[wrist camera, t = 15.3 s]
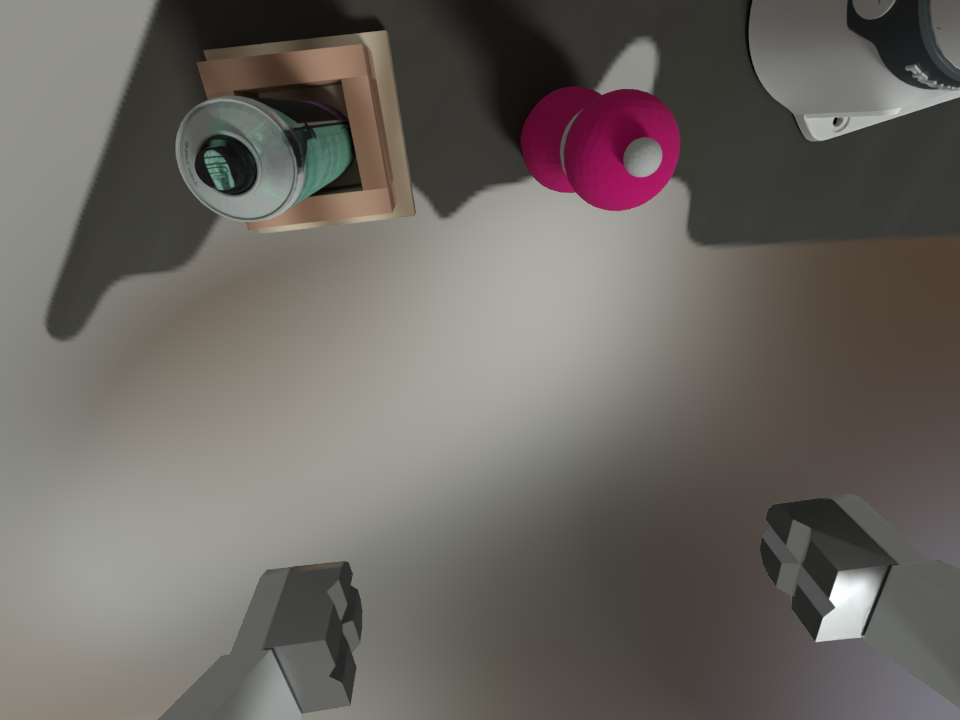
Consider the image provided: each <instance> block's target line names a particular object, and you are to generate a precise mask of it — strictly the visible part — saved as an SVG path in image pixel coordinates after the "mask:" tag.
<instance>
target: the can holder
mask: <svg viewBox="0 0 960 720" xmlns="http://www.w3.org/2000/svg"><path fill="white" fill-rule="evenodd" d="M203 51H204V54H205V57H206V60H207V61H203V62H196V63H197V67H198V70H199V73H200V76H201V79H202V83H203V86H204V89H205V92H206V95H207V99H208V100H211V99H213V98H217V97H221V96H245V97H258V98H272V99H286V100H300V101H314V102H322V103H326V104H328V105H331V106H333V107H335V108H336V109H338V110H339V111H341V112H342V113H343V114H344V115H345V116H346V117H347V119H348V120H349V122H350V127H351V132H352V137H353V142H354V147H355V152H356V156H355V159H354V161H353V163H352V165H351V167H350V168H349V169H348V170H347V171H346V172H345V173H344V174H342V175H341V176H340V177H338V178H336V179H335V180H333V181H332V182H330V183H329V184H327V185H325V186H324V187H322V188H321V189H319V190H318V191H316V192H315V193H313V194H311V195H310V196H308V197H307V198H305V199H304V200H302V201H301V202H299V203H297V204H296V205H294V206H293V207H291V208H290V209H288V210H286V211H285V212H283V213H282V214H280V215H278V216H276V217H273V218H271V219H267V220H262V221H256V222H246V224H247V227H248V230H250V229H258V232H259V234H263V233H271V232H280V231H288V230H297V229H304V228H305V229H306V228H313V227H323V226H331V225H340V224H348V223H357V222H365V221H373V220H383V219H391V218H400V217H408V216H415V214H416V210H415V204H414V198H413V191H412V185H411V178H410V172H409V165H408V159H407V153H406V146H405V140H404V133H403V127H402V121H401V114H400V108H399V101H398V95H397V89H396V82H395V76H394V69H393V63H392V56H391V50H390V44H389V37H388V33H387V31H386V30H384V31H375V32H366V33H356V34H347V35H338V36H329V37H320V38H311V39H302V40H293V41H284V42H275V43H266V44H257V45H247V46H238V47H229V48H220V49H211V50H203Z"/></svg>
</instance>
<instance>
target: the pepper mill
mask: <svg viewBox="0 0 960 720" xmlns="http://www.w3.org/2000/svg"><path fill="white" fill-rule="evenodd" d="M521 149H522V153H523V157H524V161H525V164H526V166H527V168H528V170H529V172H530V173H531V174H532V176H533V177H534V178H535V179H536V180H537V181H538V182H539V183H540V184H542V185H543V186H545V187H547V188H549V189H551V190H554V191H558V192H568V193H569V192H570V193H574V192H576V193H577V194H578V195H579V196H580V197H581V198H582V199H583V200H585V201H586V202H587V203H589V204H591V205H593V206H594V207H597V208H601V209H604V210H609V211H621V210H627V209H631V208H634V207H637V206H640V205H642V204H644V203H646V202H647V201H649V200H650V199H652V198H653V197H654V196H655V195H657V194H658V193H659V192H660V191H661V190H662V189H663V188H664V186H665V185H666V184H667V183H668V181H669V179H670V178H671V176H672V174H673V172H674V170H675V167H676V164H677V161H678V157H679V152H680V134H679V129H678V125H677V123H676V120H675V118H674V116H673V114H672V113H671V111H670V110H669V108H668V107H667V106H666V105H665V104H664V103H663V102H662V101H661V100H660V99H659V98H657V97H655V96H653V95H651V94H649V93H647V92H643V91H640V90H634V89H621V90H615V91H612V92H609V93H606V94H604V95H601V94H599V93H598V92H596V91H593V90H591V89H587V88H583V87H573V86H572V87H565V88H561V89H558V90H556V91H553V92H551V93H550V94H548V95H547V96H545V97H544V98H543V99H542V100H540V101H539V102H538V103H537V105H536V106H535V107H534V108H533V110H532V111H531V112H530V114H529V115H528V117H527V118H526V120H525V122H524V125H523V128H522V133H521Z"/></svg>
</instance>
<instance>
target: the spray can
mask: <svg viewBox="0 0 960 720" xmlns="http://www.w3.org/2000/svg"><path fill="white" fill-rule="evenodd" d="M175 147H176V159H177V163H178V167H179V170H180V172H181V175H182V177H183V179H184V181H185V183H186V184H187V186H188V187H189V189H190V190H191V192H192V193H193V194H194V195H195V196H196V197H197V199H198V200H199V201H200V202H202V203H203V204H204V205H205V206H206V207H208V208H209V209H210V210H212V211H214V212H215V213H217V214H219V215H221V216H223V217H226V218H229V219H231V220H236V221H241V222H256V221H262V220H267V219H271V218H273V217H276V216H278V215H280V214H282V213H283V212H285V211H286V210H288V209H290V208H291V207H293V206H294V205H296V204H297V203H299V202H301V201H302V200H304V199H305V198H307V197H308V196H310V195H311V194H313V193H315V192H316V191H318V190H319V189H321V188H322V187H324V186H325V185H327V184H329V183H330V182H332V181H333V180H335V179H336V178H338V177H340V176H341V175H342V174H344V173H345V172H346V171H347V170H348V169H349V168H350V167H351V165H352V163H353V161H354V159H355V156H356V152H355V147H354V142H353V137H352V132H351V127H350V122H349V120H348V119H347V117H346V116H345V115H344V114H343V113H342V112H341V111H339V110H338V109H336V108H335V107H333V106H331V105H328V104H326V103H322V102H314V101H300V100H286V99H272V98H258V97H245V96H221V97H217V98H213V99H211V100H207V101H205V102H203V103H201V104H198V105H197V106H195V107H194V108H193V109H192V110H191V111H189V112H188V113H187V115H186V116H185V118H184V119H183V120H182V122H181V124H180V127H179V129H178V132H177V137H176V143H175Z"/></svg>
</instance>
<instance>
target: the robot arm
mask: <svg viewBox="0 0 960 720" xmlns="http://www.w3.org/2000/svg"><path fill="white" fill-rule="evenodd" d="M749 46H750V53H751V58H752V62H753V66H754V69H755V71H756V74H757V76H758V78H759V80H760V82H761V83H762V85H763V86H764V88H765V89H766V90H767V92H768V93H769V94H770V95H771V96H772V97H773V98H774V99H776V100H777V101H778V102H780V103H781V104H782V105H784V106H785V107H786V108H788V109H789V110H790V111H791V112H792V113H793V114H794V116H795V119H796V121H797V124H798V126H799V128H800V130H801V132H802V134H803V135H804V137H805V138H806V139H807V140H809V141H823V140H827V139H830V138H833V137H836V136H840V135H843V134H846V133H849V132H852V131H855V130H858V129H861V128H864V127H868V126H871V125H874V124H877V123H880V122H883V121H886V120H889V119H892V118H896V117H899V116H902V115H905V114H908V113H911V112H914V111H917V110H921V109H924V108H927V107H930V106H933V105H936V104H939V103H942V102H945V101H949V100H952V99H955V98H958V97H960V0H753V1H752V6H751V12H750V20H749ZM834 118H837V122H836V124H835V125H833V120H834ZM765 520H766V521H767V522H768V524H769V525H770V526H771V528H770V529H769V530H768V531H767V532H766V533H765V534H764V535H763V536H762V537H761V544H760V554H761V558H762V563H763V566H764V568H765V570H766V572H767V574H768V576H769V577H770V579H771V580H772V582H773V583H774V585H775V586H776V587H777V588H779V589H781V590H782V591H784V592H785V593H787V594H788V595H790V596H792V601H791V609H792V610H793V612H794V613H795V614H796V616H797V617H798V619H799V620H800V621H801V623H802V624H803V626H804V627H805V628H806V630H807V631H808V632H809V634H810V635H811V637H812V638H813V639H814V641H815V642H820V641H829V640H839V639H848V638H858V637H864V638H863V640H864V641H866V642H867V643H869V644H870V645H871V646H873V647H874V648H876V649H877V650H878V651H880V652H881V653H883V654H884V655H886V656H887V657H888V658H890V659H891V660H893V661H894V662H895V663H897V664H898V665H900V666H901V667H902V668H904V669H905V670H907V671H908V672H910V673H911V674H912V675H914V676H915V677H917V678H918V679H919V680H921V681H922V682H924V683H925V684H927V685H928V686H929V687H931V688H932V689H934V690H935V691H937V692H938V693H939V694H941V695H942V696H943V697H945V698H946V699H948V700H949V701H951V702H952V703H953V704H955V705H956V706H958V707H959V708H960V569H958V568H956V567H954V566H952V565H949V564H947V563H945V562H943V561H940V560H932V561H930V560H929V559H928V558H927V557H926V556H924V555H923V554H922V553H921V552H920V551H919V550H918V549H917V548H916V547H915V546H913V545H912V544H911V543H910V542H909V541H908V540H907V539H906V538H905V537H904V536H902V535H901V534H900V533H899V532H898V531H897V530H896V529H895V528H894V527H892V526H891V525H890V524H889V523H888V522H887V521H886V520H884V519H883V518H882V517H881V516H880V515H879V514H878V513H877V512H876V511H875V510H874V509H873V508H871V507H870V506H869V505H868V504H867V503H866V502H865V501H864V500H863V499H861V498H860V497H858V496H856V495H854V494H845V495H837V496H830V497H824V498H814V499H807V500H800V501H793V502H786V503H779V504H773V505H772V506H771V507H770V508H769V509H768V510H767V515H766V519H765ZM352 576H353V573H352V570H351V567H350V564H349V562H346V561H342V562H333V563H323V564H313V565H304V566H294V567H288V568H279V569H270V570H266V572H265V573H264V574H263V575H262V576H261V578H260V579H259V582H258V585H257V587H256V590H255V592H254V595H253V598H252V600H251V602H250V605H249V608H248V610H247V613H246V615H245V618H244V620H243V623H242V625H241V628H240V630H239V633H238V636H237V638H236V641H235V643H234V646H233V648H232V651H231V654H230V655H224V656H221V657H220V658H219V659H218V660H217V661H216V662H215V663H214V664H213V665H212V666H211V667H210V668H209V669H208V670H207V671H206V672H205V673H204V674H203V675H202V676H201V677H200V678H199V679H198V680H197V681H196V682H195V683H194V684H193V685H192V686H191V687H190V688H189V689H188V690H187V691H186V692H185V693H184V694H183V695H182V696H181V697H180V698H179V699H178V700H177V701H176V702H175V703H174V704H173V705H172V706H171V707H170V708H169V709H168V710H167V711H166V712H165V713H164V714H163V715H162V716H161V717H160V718H159V719H158V720H301V718H302V713H308V712H314V711H320V710H326V709H332V708H338V707H344V706H350V705H351V699H352V693H353V686H354V680H355V673H356V664H355V661H354V658H353V655H352V653H353V651H354V650H355V649H356V648H357V646H358V645H359V644H360V640H361V633H362V604H361V598H360V595H359V592H358V590H357V589H356V588H354V587H353V586H351V582H352Z"/></svg>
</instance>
